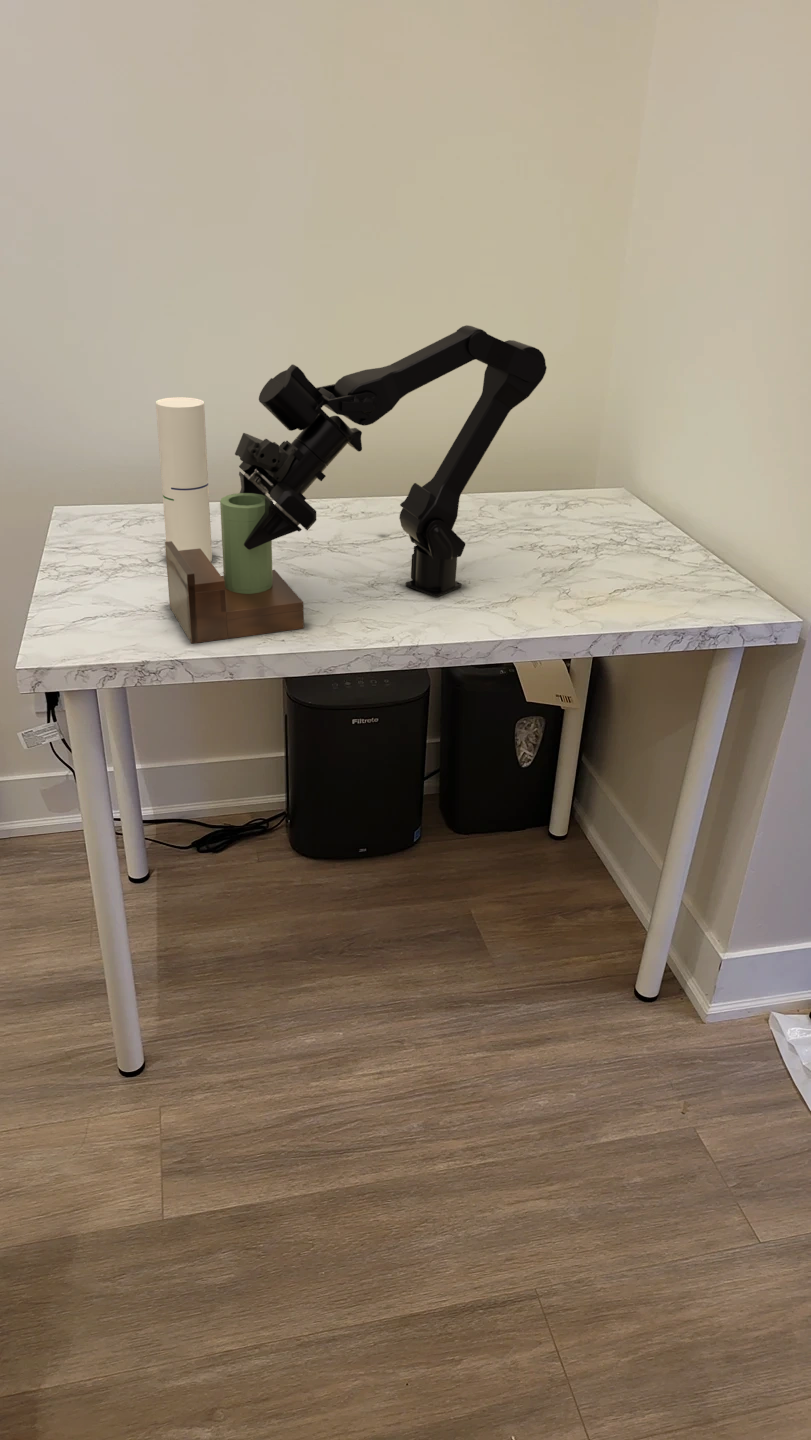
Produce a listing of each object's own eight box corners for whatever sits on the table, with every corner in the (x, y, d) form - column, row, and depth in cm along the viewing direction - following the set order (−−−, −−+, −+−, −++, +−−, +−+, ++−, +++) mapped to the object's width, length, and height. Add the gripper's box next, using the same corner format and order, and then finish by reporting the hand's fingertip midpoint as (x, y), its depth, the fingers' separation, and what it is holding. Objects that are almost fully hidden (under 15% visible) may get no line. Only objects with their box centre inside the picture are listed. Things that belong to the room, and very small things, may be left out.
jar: (280, 581, 150) (278, 497, 144) (258, 597, 145) (255, 510, 139) (239, 573, 152) (235, 490, 146) (215, 588, 147) (211, 503, 141)
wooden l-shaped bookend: (275, 594, 156) (273, 530, 151) (303, 628, 146) (303, 561, 141) (169, 607, 150) (164, 541, 146) (191, 643, 140) (186, 574, 135)
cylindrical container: (202, 569, 164) (193, 409, 152) (160, 564, 165) (147, 405, 153) (218, 554, 170) (211, 399, 158) (177, 549, 171) (167, 395, 159)
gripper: (250, 398, 146) (178, 481, 147) (292, 429, 131) (211, 521, 132) (304, 450, 152) (234, 529, 154) (349, 485, 138) (272, 572, 139)
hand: (236, 536), depth 144 cm, fingers open, 9 cm apart
